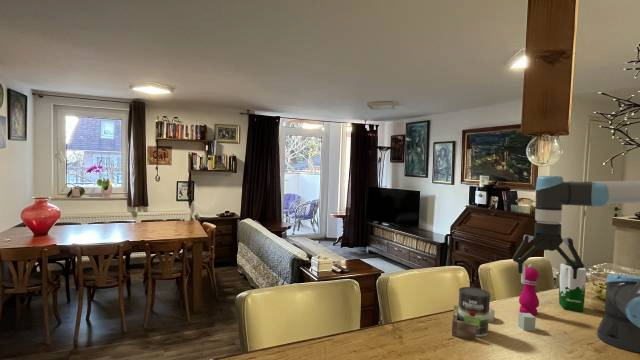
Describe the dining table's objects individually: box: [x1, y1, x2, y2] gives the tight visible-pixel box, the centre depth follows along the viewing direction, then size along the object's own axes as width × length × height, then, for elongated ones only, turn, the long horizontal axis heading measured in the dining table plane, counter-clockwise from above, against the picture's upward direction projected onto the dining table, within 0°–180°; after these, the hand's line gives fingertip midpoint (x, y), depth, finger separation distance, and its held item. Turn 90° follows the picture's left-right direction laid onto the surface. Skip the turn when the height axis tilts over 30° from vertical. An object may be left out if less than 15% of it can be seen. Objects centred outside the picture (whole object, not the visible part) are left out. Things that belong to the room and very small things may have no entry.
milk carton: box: [558, 259, 587, 313], centre depth 156 cm, size 9×9×20 cm
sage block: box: [517, 312, 537, 332], centre depth 134 cm, size 4×4×5 cm
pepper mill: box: [518, 263, 540, 317], centre depth 149 cm, size 7×7×20 cm
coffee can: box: [458, 286, 491, 338], centre depth 130 cm, size 10×10×14 cm
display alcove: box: [451, 305, 477, 341], centre depth 132 cm, size 8×16×5 cm, turn 158°
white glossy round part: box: [488, 307, 495, 323], centre depth 142 cm, size 7×7×4 cm
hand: (546, 285), depth 122 cm, fingers open, 13 cm apart
